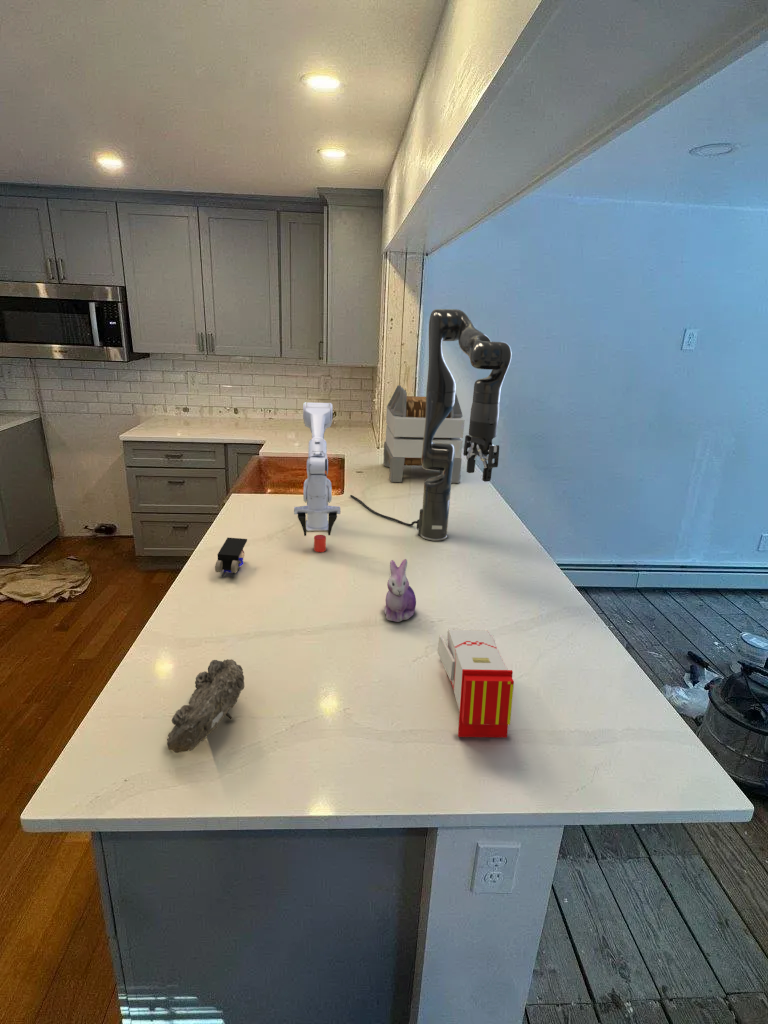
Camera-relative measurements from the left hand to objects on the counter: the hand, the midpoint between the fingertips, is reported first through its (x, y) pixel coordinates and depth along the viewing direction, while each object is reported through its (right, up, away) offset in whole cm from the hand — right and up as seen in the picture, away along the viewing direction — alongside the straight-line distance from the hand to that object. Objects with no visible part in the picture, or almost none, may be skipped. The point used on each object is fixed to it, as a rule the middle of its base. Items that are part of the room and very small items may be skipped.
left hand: (317, 534), depth 183 cm
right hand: (+48, +17, -25) cm, 57 cm away
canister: (+1, -5, +1) cm, 5 cm away
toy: (+39, -30, -64) cm, 81 cm away
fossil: (-11, -32, -75) cm, 82 cm away
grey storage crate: (+39, +26, +92) cm, 103 cm away
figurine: (+26, -19, -35) cm, 48 cm away
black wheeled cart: (-23, -10, -15) cm, 29 cm away
